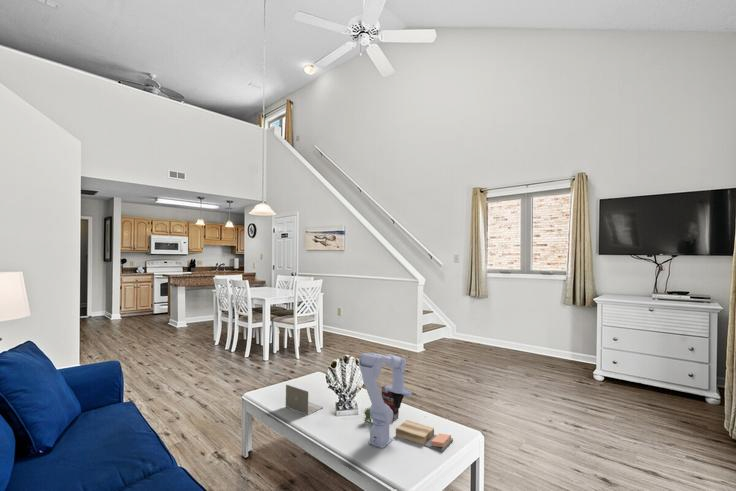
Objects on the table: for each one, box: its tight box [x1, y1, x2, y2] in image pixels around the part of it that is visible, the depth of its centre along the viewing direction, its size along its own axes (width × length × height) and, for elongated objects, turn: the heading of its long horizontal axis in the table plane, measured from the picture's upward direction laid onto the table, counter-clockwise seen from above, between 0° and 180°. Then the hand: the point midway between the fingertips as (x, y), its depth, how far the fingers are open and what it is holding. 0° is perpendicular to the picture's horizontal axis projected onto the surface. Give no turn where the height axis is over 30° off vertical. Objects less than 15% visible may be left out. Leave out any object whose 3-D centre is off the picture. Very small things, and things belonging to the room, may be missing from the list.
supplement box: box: [381, 384, 400, 421], centre depth 199 cm, size 9×5×16 cm, turn 50°
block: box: [431, 432, 452, 448], centre depth 171 cm, size 9×6×2 cm, turn 145°
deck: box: [395, 419, 435, 446], centre depth 179 cm, size 11×15×4 cm
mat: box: [423, 434, 454, 453], centre depth 172 cm, size 12×9×1 cm
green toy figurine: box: [362, 407, 373, 424], centre depth 192 cm, size 12×12×8 cm
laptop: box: [285, 384, 324, 416], centre depth 210 cm, size 18×12×13 cm
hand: (397, 407), depth 186 cm, fingers closed
